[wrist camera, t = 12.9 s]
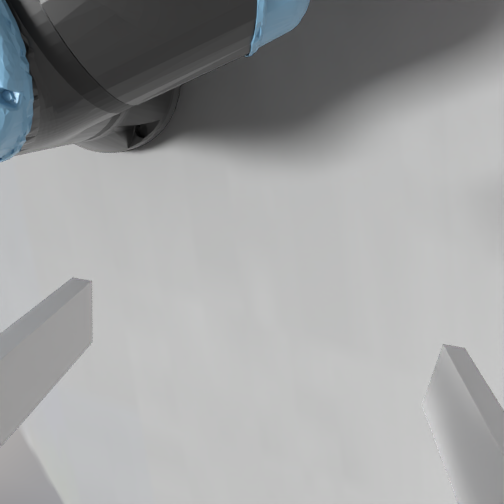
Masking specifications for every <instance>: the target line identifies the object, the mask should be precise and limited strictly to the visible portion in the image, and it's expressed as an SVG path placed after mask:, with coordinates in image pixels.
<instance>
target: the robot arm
mask: <svg viewBox="0 0 504 504" xmlns="http://www.w3.org/2000/svg"><path fill="white" fill-rule="evenodd" d="M309 2H310V0H0V162H3V161H6V160H8V159H10V158H12V157H13V156H17V155H21V154H26V153H31V152H36V151H40V150H45V149H50V148H54V147H59V146H64V145H69V144H75V145H77V146H80V147H82V148H85V149H87V150H91V151H96V152H102V153H117V152H123V151H127V150H130V149H134V148H137V147H139V146H142V145H144V144H146V143H148V142H149V141H151V140H152V139H154V138H155V137H156V136H157V135H158V134H159V133H160V132H161V131H162V130H163V129H164V128H165V126H166V125H167V123H168V122H169V120H170V119H171V117H172V115H173V113H174V110H175V108H176V104H177V101H178V97H179V91H180V85H182V84H184V83H186V82H188V81H191V80H193V79H195V78H197V77H199V76H201V75H203V74H206V73H208V72H210V71H212V70H214V69H216V68H218V67H221V66H223V65H225V64H227V63H229V62H231V61H233V60H236V59H238V58H240V57H242V56H245V57H249V56H252V55H253V53H255V52H256V51H257V50H258V48H259V47H261V46H263V45H265V44H267V43H269V42H271V41H272V40H274V39H276V38H278V37H280V36H282V35H284V34H286V33H288V32H289V31H291V30H293V29H294V28H295V27H296V26H297V25H298V24H299V23H300V21H301V19H302V17H303V16H304V15H305V13H306V11H307V8H308V5H309ZM91 343H92V281H89V280H84V279H78V278H71V279H70V280H69V281H68V282H66V283H65V284H64V285H62V286H61V287H60V288H59V289H57V290H56V291H55V292H53V293H52V294H51V295H50V296H48V297H47V298H46V299H44V300H43V301H42V302H40V303H39V304H38V305H37V306H35V307H34V308H33V309H31V310H30V311H29V312H28V313H26V314H25V315H24V316H22V317H21V318H20V319H19V320H17V321H16V322H15V323H13V324H12V325H11V326H10V327H8V328H7V329H6V330H4V331H3V332H2V333H1V334H0V448H1V447H2V445H3V444H4V443H5V442H6V441H7V440H8V439H9V437H10V436H11V435H12V434H13V433H14V432H15V431H16V429H17V428H18V427H19V426H20V425H21V424H22V423H23V421H24V420H25V419H26V418H27V417H28V416H29V415H30V413H31V412H32V411H33V410H34V409H35V408H36V407H37V405H38V404H39V403H40V402H41V401H42V400H43V398H44V397H45V396H46V395H47V394H48V393H49V392H50V390H51V389H52V388H53V387H54V386H55V385H56V384H57V382H58V381H59V380H60V379H61V378H62V377H63V376H64V374H65V373H66V372H67V371H68V370H69V369H70V367H71V366H72V365H73V364H74V363H75V362H76V361H77V359H78V358H79V357H80V356H81V355H82V354H83V353H84V351H85V350H86V349H87V348H88V347H89V346H90V345H91ZM422 407H423V410H424V413H425V416H426V418H427V421H428V424H429V427H430V429H431V432H432V435H433V437H434V440H435V443H436V446H437V448H438V451H439V454H440V457H441V459H442V462H443V465H444V467H445V470H446V473H447V476H448V478H449V481H450V484H451V487H452V489H453V492H454V495H455V497H456V500H457V503H458V504H504V410H503V409H502V407H501V406H500V404H499V402H498V401H497V399H496V397H495V396H494V394H493V393H492V391H491V389H490V388H489V386H488V385H487V383H486V381H485V380H484V378H483V376H482V375H481V373H480V372H479V370H478V368H477V367H476V365H475V364H474V362H473V360H472V359H471V357H470V356H469V354H468V352H467V351H466V349H465V348H462V347H456V346H451V345H445V344H443V346H442V349H441V351H440V354H439V357H438V360H437V363H436V366H435V368H434V371H433V374H432V377H431V380H430V383H429V385H428V388H427V391H426V394H425V397H424V400H423V402H422Z"/></svg>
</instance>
